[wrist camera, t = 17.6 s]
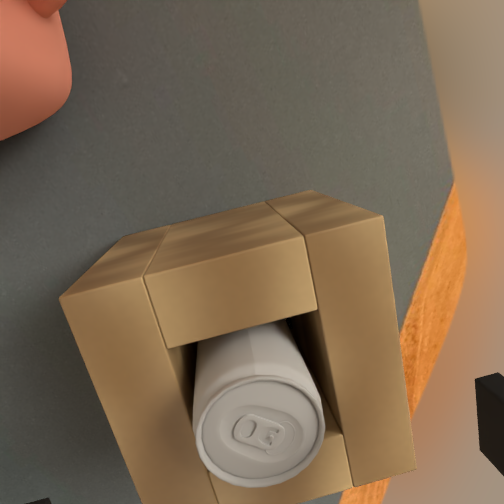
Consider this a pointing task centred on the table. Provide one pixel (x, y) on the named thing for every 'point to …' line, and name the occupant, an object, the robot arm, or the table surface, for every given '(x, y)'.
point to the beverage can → (255, 406)
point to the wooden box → (241, 317)
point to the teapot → (31, 64)
